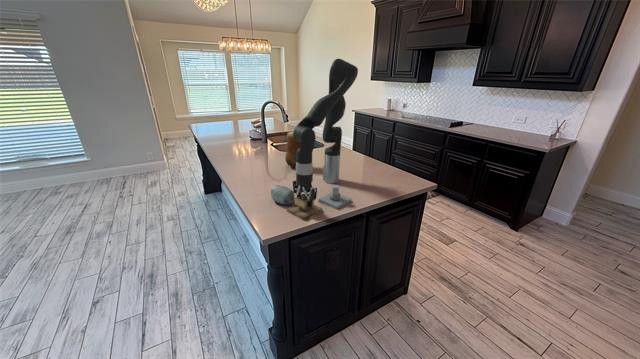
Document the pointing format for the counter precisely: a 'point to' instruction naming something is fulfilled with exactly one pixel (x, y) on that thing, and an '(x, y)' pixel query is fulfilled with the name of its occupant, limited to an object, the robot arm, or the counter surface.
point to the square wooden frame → (301, 202)
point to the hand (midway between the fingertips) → (304, 204)
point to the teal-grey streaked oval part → (282, 195)
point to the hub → (335, 198)
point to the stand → (304, 210)
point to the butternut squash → (291, 150)
